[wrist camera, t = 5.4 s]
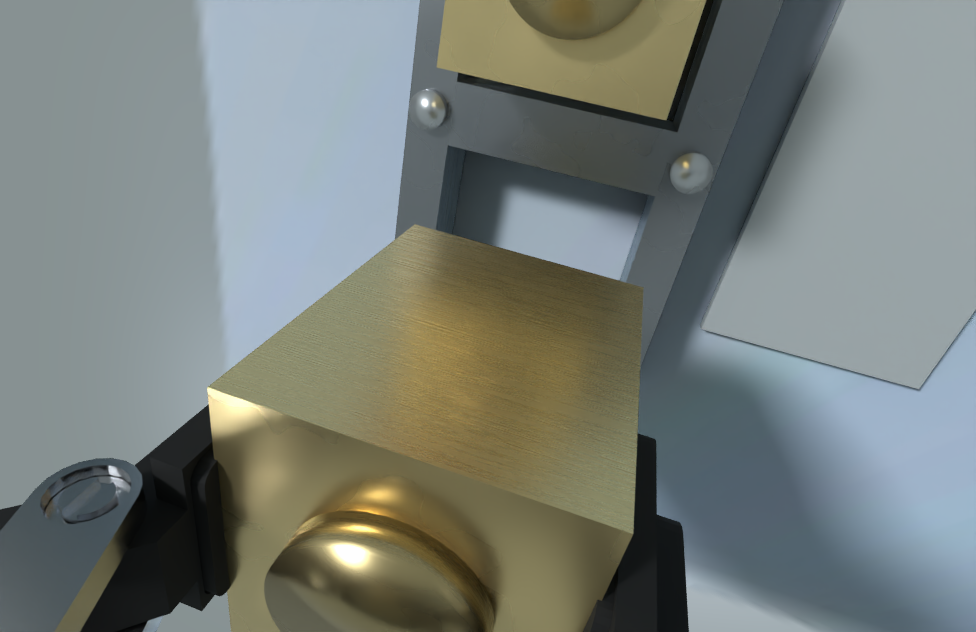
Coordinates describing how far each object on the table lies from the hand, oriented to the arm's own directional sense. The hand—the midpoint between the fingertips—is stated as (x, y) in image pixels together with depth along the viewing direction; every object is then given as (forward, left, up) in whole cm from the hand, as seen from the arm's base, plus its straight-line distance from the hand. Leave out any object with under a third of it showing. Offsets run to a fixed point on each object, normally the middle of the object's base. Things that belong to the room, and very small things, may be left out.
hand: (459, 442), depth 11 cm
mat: (-11, -4, -12) cm, 17 cm away
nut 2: (0, 0, -4) cm, 4 cm away
